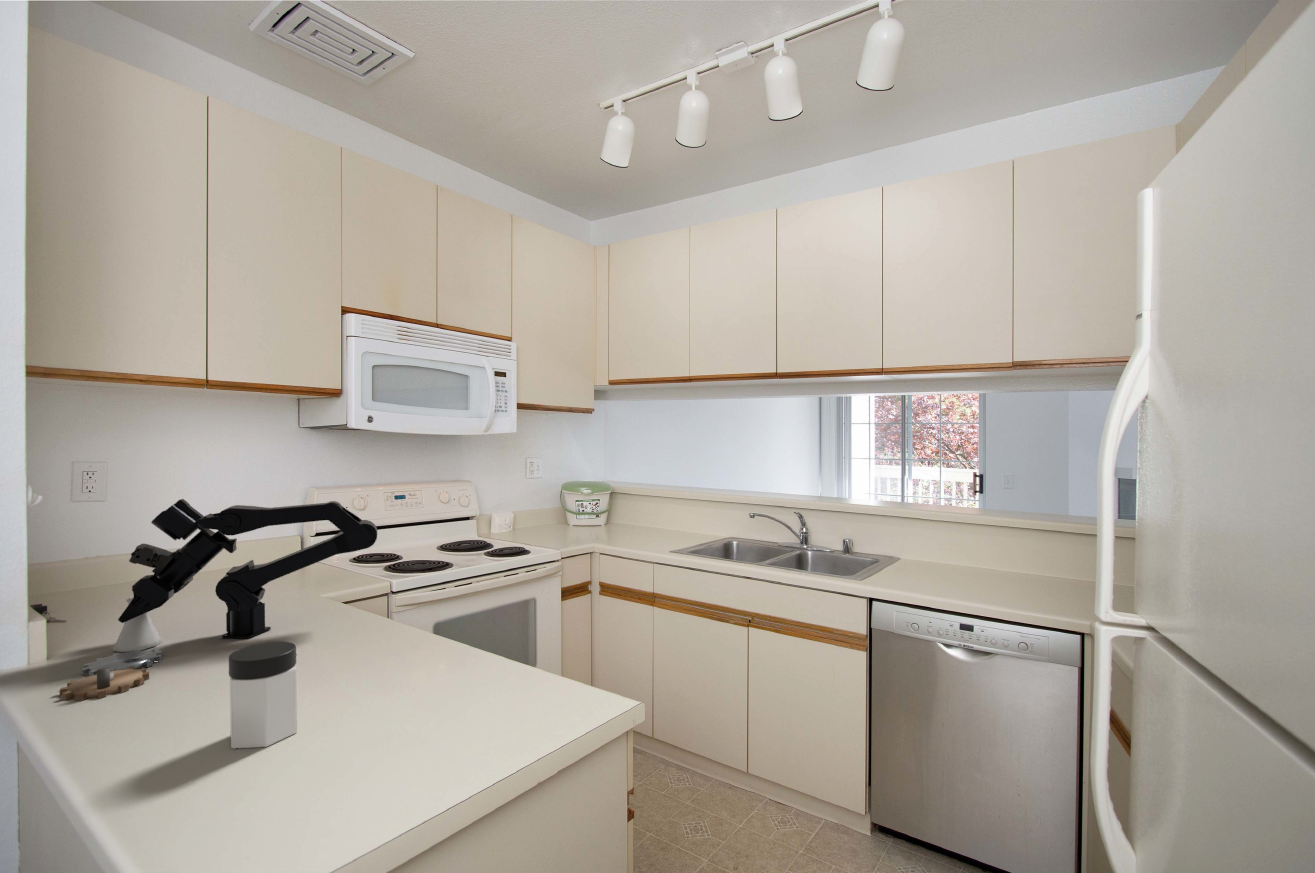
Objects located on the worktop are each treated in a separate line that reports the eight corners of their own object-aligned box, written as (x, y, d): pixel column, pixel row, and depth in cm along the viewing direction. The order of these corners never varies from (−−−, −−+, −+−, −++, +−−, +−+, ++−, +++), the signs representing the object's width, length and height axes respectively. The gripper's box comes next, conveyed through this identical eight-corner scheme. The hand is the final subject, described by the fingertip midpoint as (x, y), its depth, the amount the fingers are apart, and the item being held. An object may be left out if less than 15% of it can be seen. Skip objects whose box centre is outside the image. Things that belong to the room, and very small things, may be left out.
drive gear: (165, 674, 110) (165, 652, 110) (100, 702, 99) (99, 677, 99) (111, 671, 112) (111, 649, 112) (41, 698, 101) (40, 673, 100)
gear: (177, 655, 119) (177, 650, 119) (118, 678, 108) (118, 673, 108) (127, 652, 121) (127, 647, 121) (64, 675, 110) (63, 670, 110)
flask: (140, 653, 121) (139, 602, 121) (104, 653, 121) (103, 602, 121) (170, 640, 128) (169, 592, 128) (136, 640, 128) (135, 592, 128)
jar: (310, 719, 93) (309, 639, 92) (283, 747, 84) (282, 659, 84) (247, 722, 92) (246, 641, 92) (213, 750, 84) (212, 662, 83)
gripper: (174, 523, 135) (110, 579, 130) (145, 536, 118) (70, 601, 113) (218, 556, 138) (157, 612, 133) (196, 573, 121) (125, 638, 116)
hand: (128, 614), depth 124 cm, fingers open, 9 cm apart
